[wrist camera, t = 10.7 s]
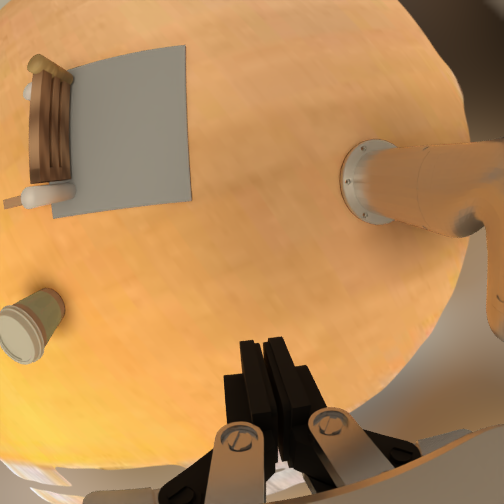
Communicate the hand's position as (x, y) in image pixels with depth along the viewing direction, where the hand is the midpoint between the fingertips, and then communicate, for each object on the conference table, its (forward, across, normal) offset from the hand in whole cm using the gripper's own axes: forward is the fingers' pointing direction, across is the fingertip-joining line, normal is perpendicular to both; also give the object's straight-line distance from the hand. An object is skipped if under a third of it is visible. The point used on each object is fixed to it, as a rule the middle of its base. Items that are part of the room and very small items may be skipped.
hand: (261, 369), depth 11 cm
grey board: (+29, +17, -16) cm, 37 cm away
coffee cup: (+29, +30, +9) cm, 43 cm away
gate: (+28, +22, -18) cm, 40 cm away
